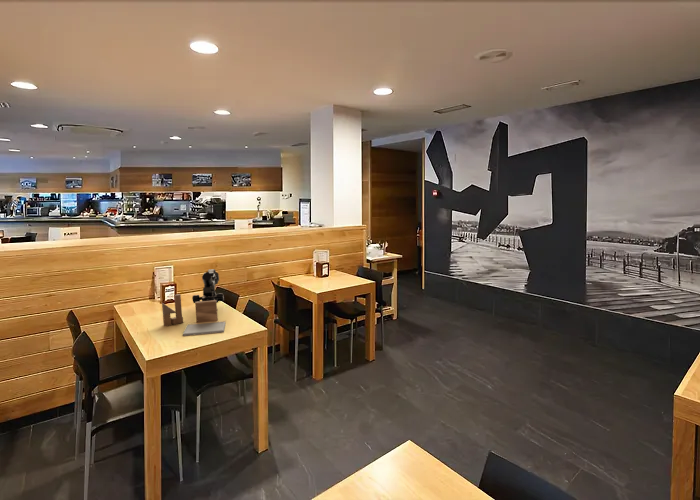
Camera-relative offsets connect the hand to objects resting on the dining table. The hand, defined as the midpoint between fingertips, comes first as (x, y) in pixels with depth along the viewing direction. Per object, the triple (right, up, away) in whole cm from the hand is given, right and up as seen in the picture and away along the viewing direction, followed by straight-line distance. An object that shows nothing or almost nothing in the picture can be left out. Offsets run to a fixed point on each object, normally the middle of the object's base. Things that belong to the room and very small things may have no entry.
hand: (207, 309), depth 253 cm
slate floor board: (+4, -9, -17) cm, 19 cm away
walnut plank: (+2, -8, -6) cm, 10 cm away
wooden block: (-19, -8, -6) cm, 22 cm away
